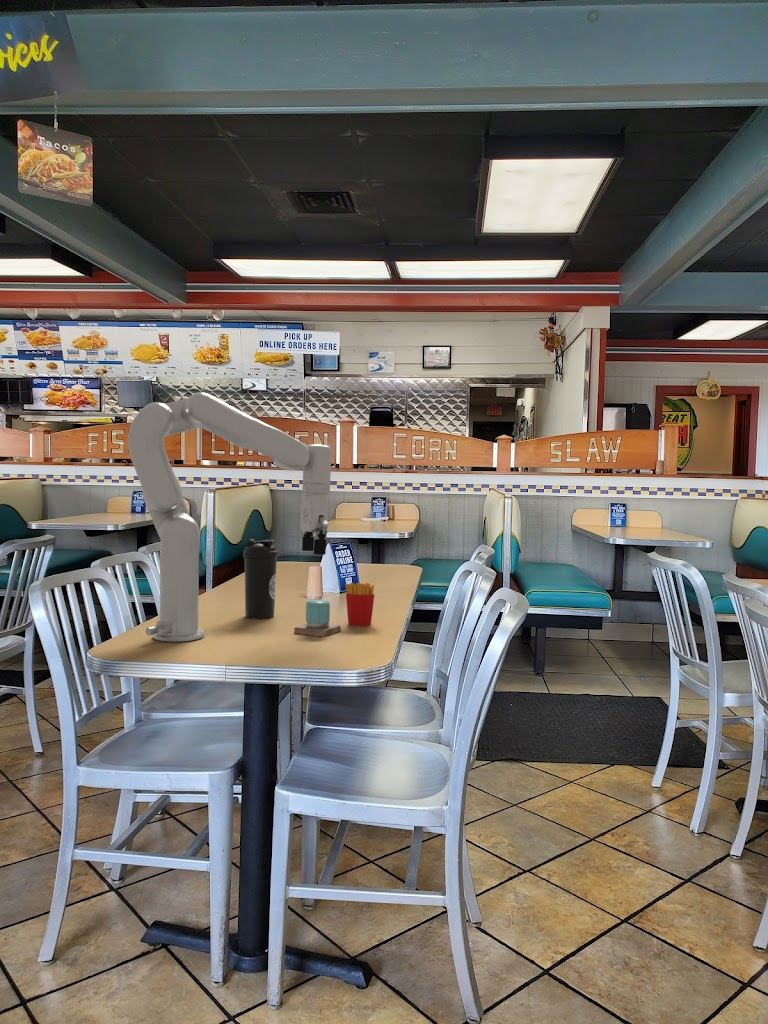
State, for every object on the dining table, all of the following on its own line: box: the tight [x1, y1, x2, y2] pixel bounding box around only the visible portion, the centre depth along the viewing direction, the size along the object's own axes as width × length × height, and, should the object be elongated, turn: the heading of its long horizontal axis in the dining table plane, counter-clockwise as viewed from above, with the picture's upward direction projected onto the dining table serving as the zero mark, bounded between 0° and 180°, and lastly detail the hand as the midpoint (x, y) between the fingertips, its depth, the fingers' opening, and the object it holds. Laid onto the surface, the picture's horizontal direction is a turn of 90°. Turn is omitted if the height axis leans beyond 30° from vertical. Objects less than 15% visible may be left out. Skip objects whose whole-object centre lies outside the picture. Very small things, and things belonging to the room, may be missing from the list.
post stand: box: [293, 621, 341, 638], centre depth 192 cm, size 9×9×7 cm
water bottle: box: [242, 538, 279, 620], centre depth 212 cm, size 10×10×23 cm
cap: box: [305, 599, 331, 623], centre depth 192 cm, size 6×6×5 cm
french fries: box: [345, 582, 375, 627], centre depth 203 cm, size 8×4×12 cm, turn 81°
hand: (313, 552), depth 194 cm, fingers open, 9 cm apart
